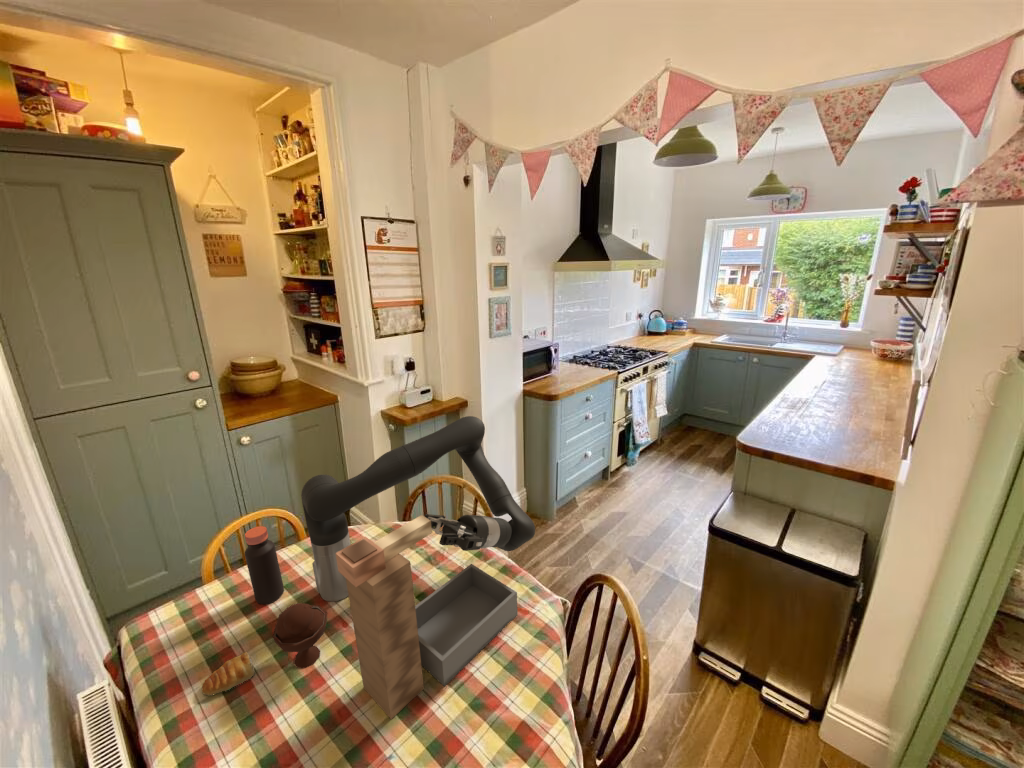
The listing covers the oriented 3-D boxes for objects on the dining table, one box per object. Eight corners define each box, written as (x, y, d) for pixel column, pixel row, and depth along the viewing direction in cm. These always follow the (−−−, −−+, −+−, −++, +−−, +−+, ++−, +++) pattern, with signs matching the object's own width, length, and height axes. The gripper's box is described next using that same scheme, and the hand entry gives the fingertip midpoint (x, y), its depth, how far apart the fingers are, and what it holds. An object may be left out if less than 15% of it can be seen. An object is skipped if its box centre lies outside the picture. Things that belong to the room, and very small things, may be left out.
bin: (472, 584, 117) (471, 563, 115) (517, 614, 107) (516, 592, 105) (399, 644, 99) (396, 620, 97) (444, 686, 89) (442, 661, 87)
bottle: (289, 591, 116) (276, 529, 110) (264, 609, 110) (249, 543, 104) (275, 582, 119) (261, 520, 113) (250, 598, 114) (234, 534, 108)
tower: (395, 660, 95) (379, 539, 86) (423, 688, 89) (410, 561, 80) (363, 687, 90) (342, 561, 80) (391, 719, 83) (372, 586, 74)
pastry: (206, 707, 87) (202, 693, 85) (200, 684, 91) (196, 670, 90) (258, 676, 93) (254, 663, 92) (249, 656, 97) (246, 643, 96)
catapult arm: (418, 524, 91) (416, 507, 89) (436, 535, 87) (435, 517, 86) (338, 571, 78) (335, 551, 76) (355, 587, 74) (352, 566, 72)
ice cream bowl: (343, 643, 100) (334, 591, 96) (307, 687, 90) (295, 631, 86) (307, 631, 103) (297, 580, 99) (268, 672, 93) (255, 617, 89)
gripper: (461, 505, 106) (413, 501, 94) (504, 528, 97) (457, 526, 85) (452, 535, 106) (401, 535, 93) (494, 560, 97) (444, 564, 84)
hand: (428, 531), depth 89 cm, fingers open, 8 cm apart
